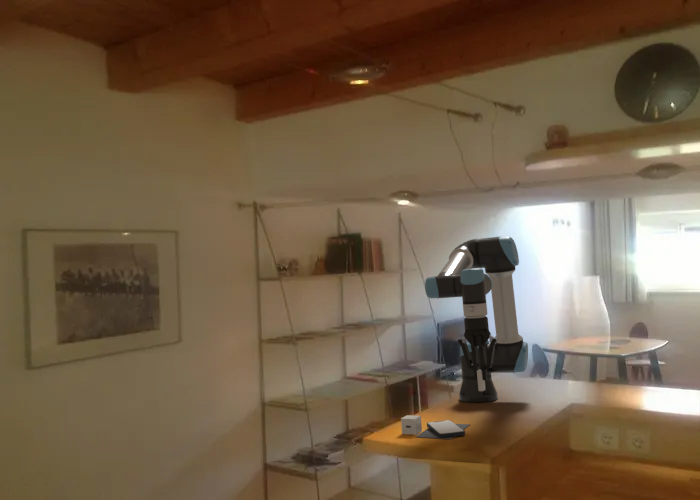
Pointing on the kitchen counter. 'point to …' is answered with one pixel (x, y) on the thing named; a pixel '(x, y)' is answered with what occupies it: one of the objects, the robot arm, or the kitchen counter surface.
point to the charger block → (411, 424)
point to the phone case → (445, 429)
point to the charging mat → (430, 434)
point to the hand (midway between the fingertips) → (482, 390)
